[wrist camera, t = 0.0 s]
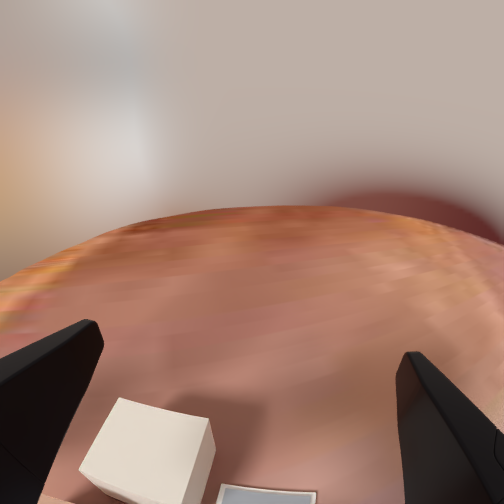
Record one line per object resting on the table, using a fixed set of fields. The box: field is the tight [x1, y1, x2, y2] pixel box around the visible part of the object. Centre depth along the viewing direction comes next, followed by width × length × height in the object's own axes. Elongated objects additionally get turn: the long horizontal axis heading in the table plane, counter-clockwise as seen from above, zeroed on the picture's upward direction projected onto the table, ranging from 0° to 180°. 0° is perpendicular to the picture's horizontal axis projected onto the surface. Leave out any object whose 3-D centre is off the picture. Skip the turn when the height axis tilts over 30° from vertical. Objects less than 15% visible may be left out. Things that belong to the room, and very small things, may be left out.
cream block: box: [79, 397, 216, 504], centre depth 16 cm, size 7×7×5 cm
